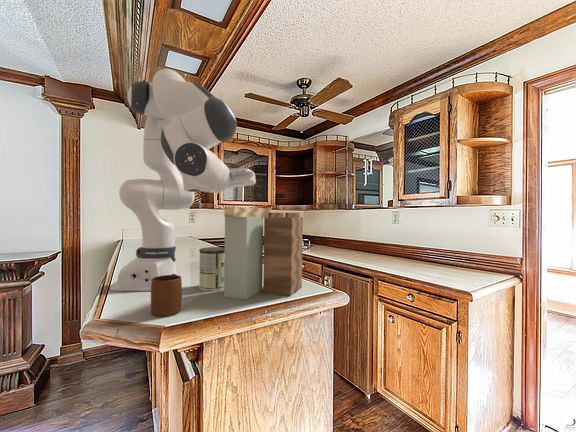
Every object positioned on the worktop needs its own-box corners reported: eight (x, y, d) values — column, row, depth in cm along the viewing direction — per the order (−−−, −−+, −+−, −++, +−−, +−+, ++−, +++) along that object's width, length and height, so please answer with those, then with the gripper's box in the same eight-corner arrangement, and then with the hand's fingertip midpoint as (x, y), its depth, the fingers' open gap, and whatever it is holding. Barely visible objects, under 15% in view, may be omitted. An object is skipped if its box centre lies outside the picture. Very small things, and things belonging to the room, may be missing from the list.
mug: (162, 303, 84) (162, 271, 84) (188, 302, 84) (188, 271, 84) (146, 318, 72) (146, 281, 72) (176, 317, 73) (177, 281, 72)
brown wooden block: (290, 296, 93) (292, 212, 92) (263, 292, 96) (264, 212, 96) (301, 287, 104) (302, 213, 104) (276, 284, 107) (277, 212, 107)
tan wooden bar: (234, 216, 86) (234, 207, 86) (224, 216, 88) (224, 207, 88) (271, 216, 103) (271, 208, 103) (262, 216, 105) (262, 208, 105)
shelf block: (245, 299, 88) (246, 216, 88) (224, 296, 91) (225, 216, 91) (262, 289, 100) (263, 216, 99) (242, 287, 102) (243, 216, 102)
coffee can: (205, 283, 108) (205, 246, 108) (231, 284, 107) (232, 247, 107) (193, 290, 98) (194, 250, 98) (222, 291, 97) (223, 250, 97)
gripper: (250, 160, 76) (258, 172, 90) (176, 169, 77) (196, 180, 91) (252, 182, 75) (260, 192, 89) (178, 191, 76) (197, 199, 90)
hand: (227, 186), depth 90 cm, fingers open, 8 cm apart
